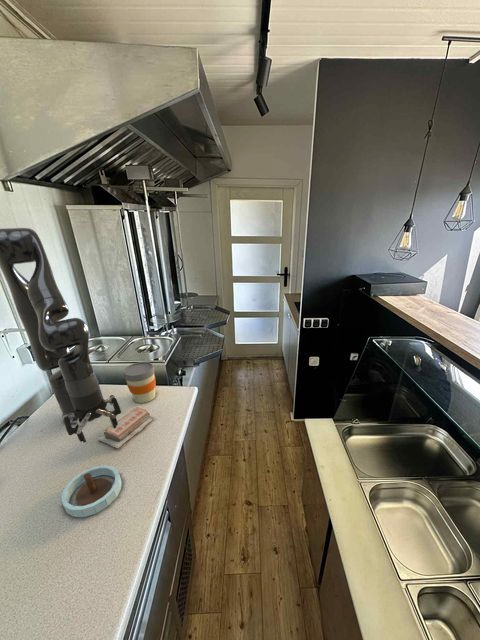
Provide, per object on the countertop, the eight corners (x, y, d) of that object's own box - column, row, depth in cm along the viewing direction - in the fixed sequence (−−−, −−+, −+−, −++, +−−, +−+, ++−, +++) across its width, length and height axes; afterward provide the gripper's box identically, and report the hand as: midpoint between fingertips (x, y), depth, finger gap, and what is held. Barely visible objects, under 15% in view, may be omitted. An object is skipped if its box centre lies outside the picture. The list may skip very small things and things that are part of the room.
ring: (59, 492, 87) (56, 485, 85) (111, 464, 96) (109, 457, 95) (72, 528, 77) (68, 520, 75) (128, 493, 86) (126, 486, 85)
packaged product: (134, 403, 118) (152, 409, 114) (136, 413, 120) (154, 419, 117) (95, 431, 104) (114, 439, 100) (99, 441, 106) (118, 449, 102)
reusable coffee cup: (127, 395, 132) (119, 367, 126) (154, 386, 139) (148, 359, 132) (134, 408, 123) (126, 379, 116) (163, 398, 130) (157, 369, 123)
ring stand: (73, 492, 87) (65, 475, 83) (105, 475, 92) (98, 458, 89) (81, 513, 81) (73, 495, 77) (114, 493, 86) (108, 475, 83)
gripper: (106, 374, 86) (119, 417, 93) (51, 393, 78) (70, 439, 85) (115, 383, 81) (128, 428, 88) (56, 405, 73) (76, 453, 80)
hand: (99, 433), depth 87 cm, fingers open, 8 cm apart
